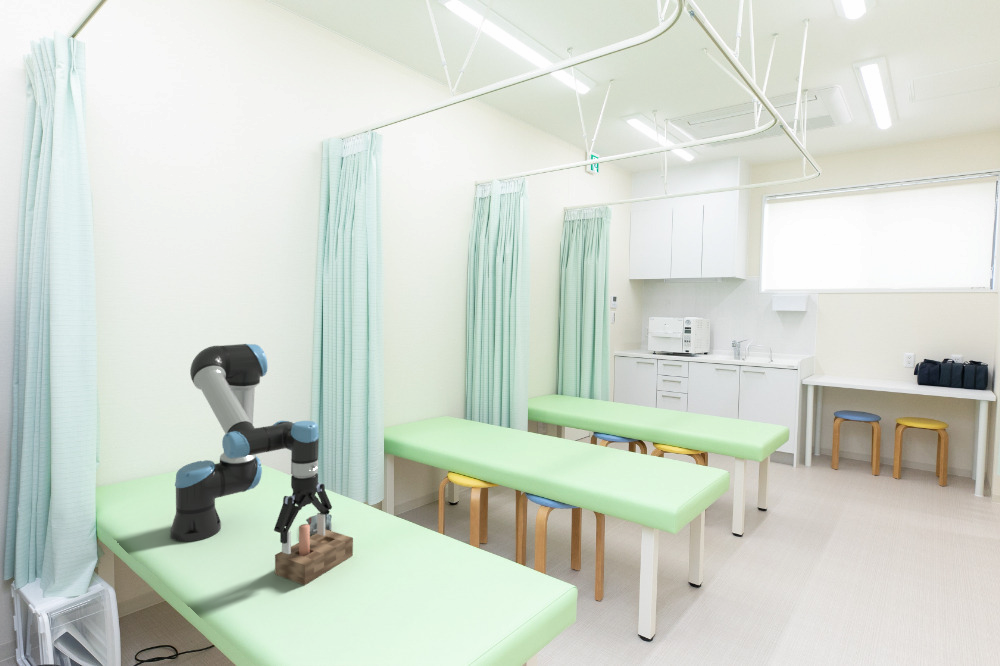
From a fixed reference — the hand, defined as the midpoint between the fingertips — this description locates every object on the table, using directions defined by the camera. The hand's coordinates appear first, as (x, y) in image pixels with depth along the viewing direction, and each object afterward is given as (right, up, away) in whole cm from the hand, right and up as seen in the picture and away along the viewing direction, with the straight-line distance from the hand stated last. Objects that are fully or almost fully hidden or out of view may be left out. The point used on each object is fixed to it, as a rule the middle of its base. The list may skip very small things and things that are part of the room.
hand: (304, 543), depth 162 cm
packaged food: (-5, -7, +28) cm, 29 cm away
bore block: (+2, -8, +5) cm, 10 cm away
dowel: (0, -7, +1) cm, 7 cm away
